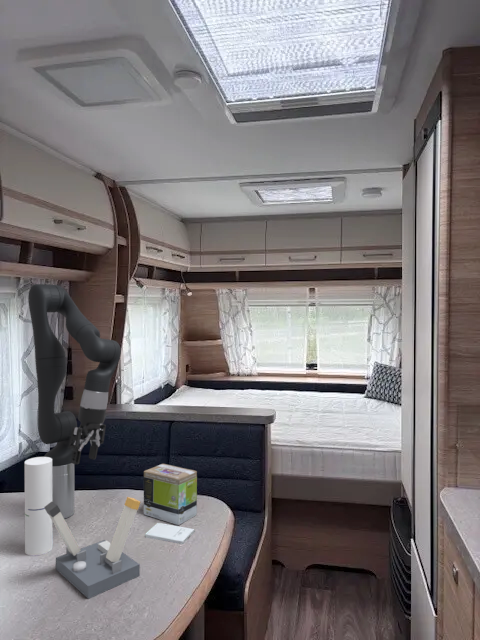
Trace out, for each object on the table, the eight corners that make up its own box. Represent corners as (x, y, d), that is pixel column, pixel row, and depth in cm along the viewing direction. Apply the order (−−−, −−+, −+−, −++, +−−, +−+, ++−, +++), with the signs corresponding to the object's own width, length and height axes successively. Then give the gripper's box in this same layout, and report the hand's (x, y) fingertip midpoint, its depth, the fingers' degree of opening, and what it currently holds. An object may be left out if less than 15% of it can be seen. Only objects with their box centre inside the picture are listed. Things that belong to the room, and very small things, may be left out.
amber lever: (101, 561, 123) (126, 496, 127) (109, 562, 124) (132, 497, 129) (110, 568, 120) (135, 501, 124) (118, 569, 121) (141, 502, 125)
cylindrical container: (42, 557, 132) (42, 465, 131) (19, 554, 134) (18, 463, 133) (57, 544, 139) (57, 457, 138) (35, 541, 141) (34, 456, 140)
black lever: (69, 554, 128) (43, 506, 122) (76, 548, 129) (50, 500, 124) (77, 561, 125) (50, 511, 119) (84, 554, 126) (58, 505, 121)
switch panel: (55, 569, 126) (55, 548, 126) (104, 550, 136) (104, 531, 136) (88, 598, 114) (88, 576, 114) (139, 575, 124) (139, 554, 123)
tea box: (197, 515, 160) (198, 470, 159) (178, 526, 151) (178, 479, 151) (162, 504, 168) (163, 462, 167) (142, 515, 159) (142, 470, 159)
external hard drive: (158, 527, 152) (194, 533, 148) (145, 539, 144) (183, 546, 140) (158, 522, 152) (194, 528, 148) (145, 533, 144) (183, 540, 140)
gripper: (96, 402, 152) (86, 455, 150) (68, 404, 138) (57, 462, 137) (117, 406, 149) (107, 460, 148) (90, 409, 136) (80, 468, 135)
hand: (83, 461), depth 143 cm, fingers open, 8 cm apart
